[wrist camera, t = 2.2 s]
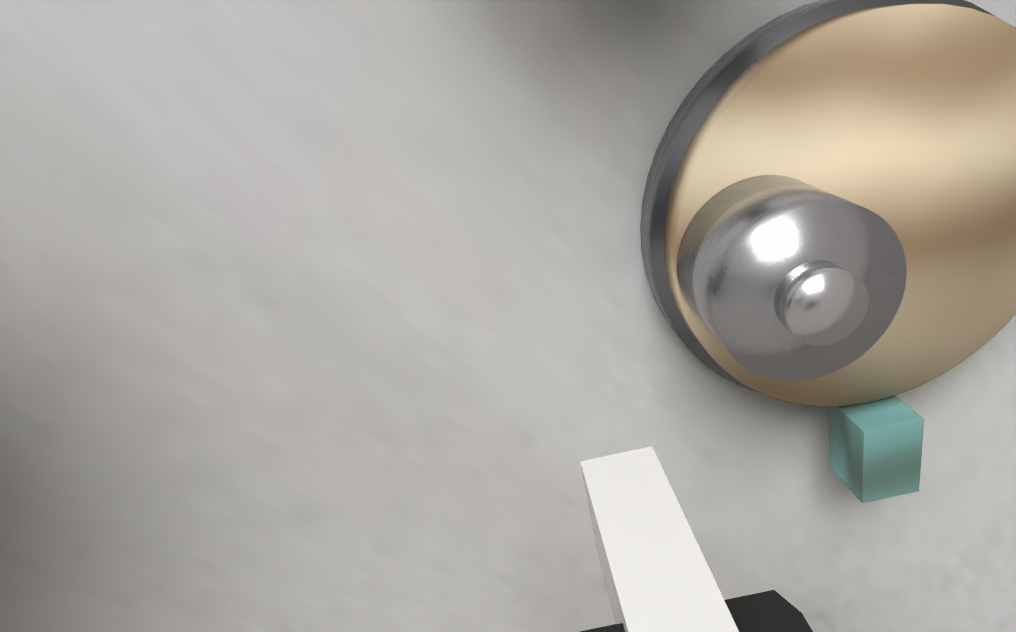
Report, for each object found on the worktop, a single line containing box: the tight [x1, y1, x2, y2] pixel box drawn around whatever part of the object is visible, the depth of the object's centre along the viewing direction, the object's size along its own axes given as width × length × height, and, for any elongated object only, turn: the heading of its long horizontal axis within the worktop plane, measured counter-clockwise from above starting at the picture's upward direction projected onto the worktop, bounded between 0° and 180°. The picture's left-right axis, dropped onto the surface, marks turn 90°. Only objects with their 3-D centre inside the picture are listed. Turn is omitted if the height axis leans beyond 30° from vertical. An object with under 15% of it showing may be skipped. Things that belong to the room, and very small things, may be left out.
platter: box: [664, 4, 1016, 503], centre depth 24 cm, size 19×15×3 cm
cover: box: [676, 175, 907, 381], centre depth 21 cm, size 6×6×5 cm
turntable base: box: [640, 0, 994, 391], centre depth 26 cm, size 16×16×2 cm
